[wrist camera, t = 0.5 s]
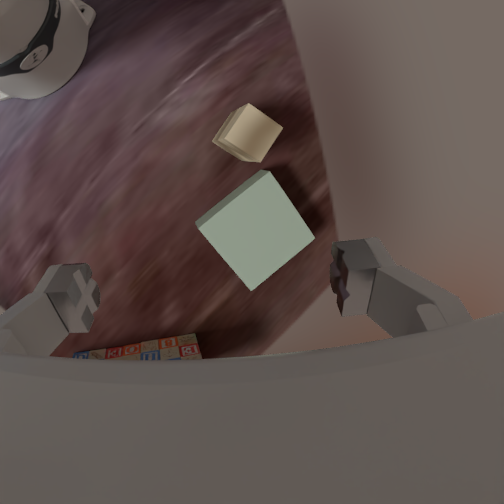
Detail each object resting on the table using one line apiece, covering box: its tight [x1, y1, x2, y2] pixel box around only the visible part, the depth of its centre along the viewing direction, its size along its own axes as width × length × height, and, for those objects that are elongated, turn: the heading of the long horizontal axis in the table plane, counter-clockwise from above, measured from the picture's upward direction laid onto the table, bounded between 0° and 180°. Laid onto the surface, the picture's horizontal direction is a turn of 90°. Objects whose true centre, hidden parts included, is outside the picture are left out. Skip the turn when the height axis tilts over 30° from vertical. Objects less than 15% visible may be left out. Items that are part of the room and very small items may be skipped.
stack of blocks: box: [73, 333, 202, 360], centre depth 43 cm, size 21×6×12 cm, turn 96°
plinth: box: [195, 170, 315, 291], centre depth 46 cm, size 12×12×4 cm
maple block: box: [212, 103, 283, 162], centre depth 39 cm, size 5×5×9 cm
